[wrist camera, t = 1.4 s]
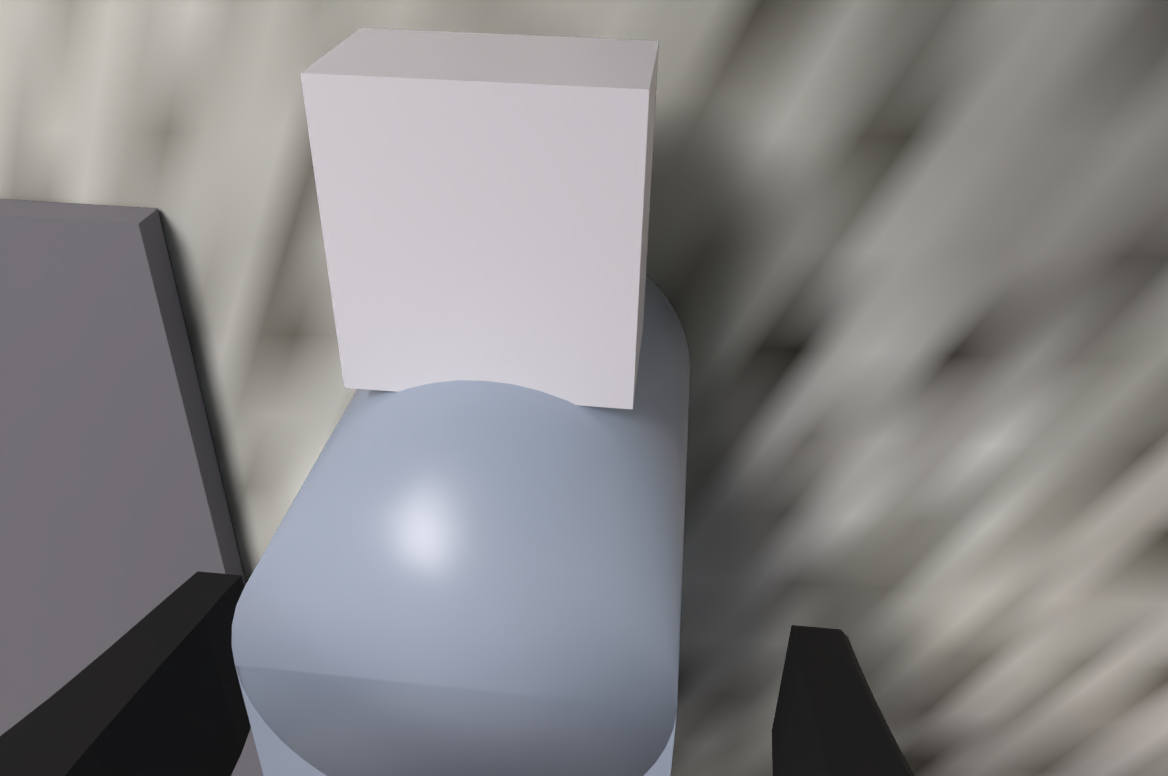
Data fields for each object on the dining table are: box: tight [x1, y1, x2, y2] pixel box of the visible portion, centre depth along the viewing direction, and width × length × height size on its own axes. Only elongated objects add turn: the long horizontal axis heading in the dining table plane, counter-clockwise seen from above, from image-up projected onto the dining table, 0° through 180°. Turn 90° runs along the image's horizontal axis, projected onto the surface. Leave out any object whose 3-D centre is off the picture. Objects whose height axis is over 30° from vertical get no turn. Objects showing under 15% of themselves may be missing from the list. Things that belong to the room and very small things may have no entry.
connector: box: [232, 28, 690, 776], centre depth 12 cm, size 13×4×6 cm, turn 179°
